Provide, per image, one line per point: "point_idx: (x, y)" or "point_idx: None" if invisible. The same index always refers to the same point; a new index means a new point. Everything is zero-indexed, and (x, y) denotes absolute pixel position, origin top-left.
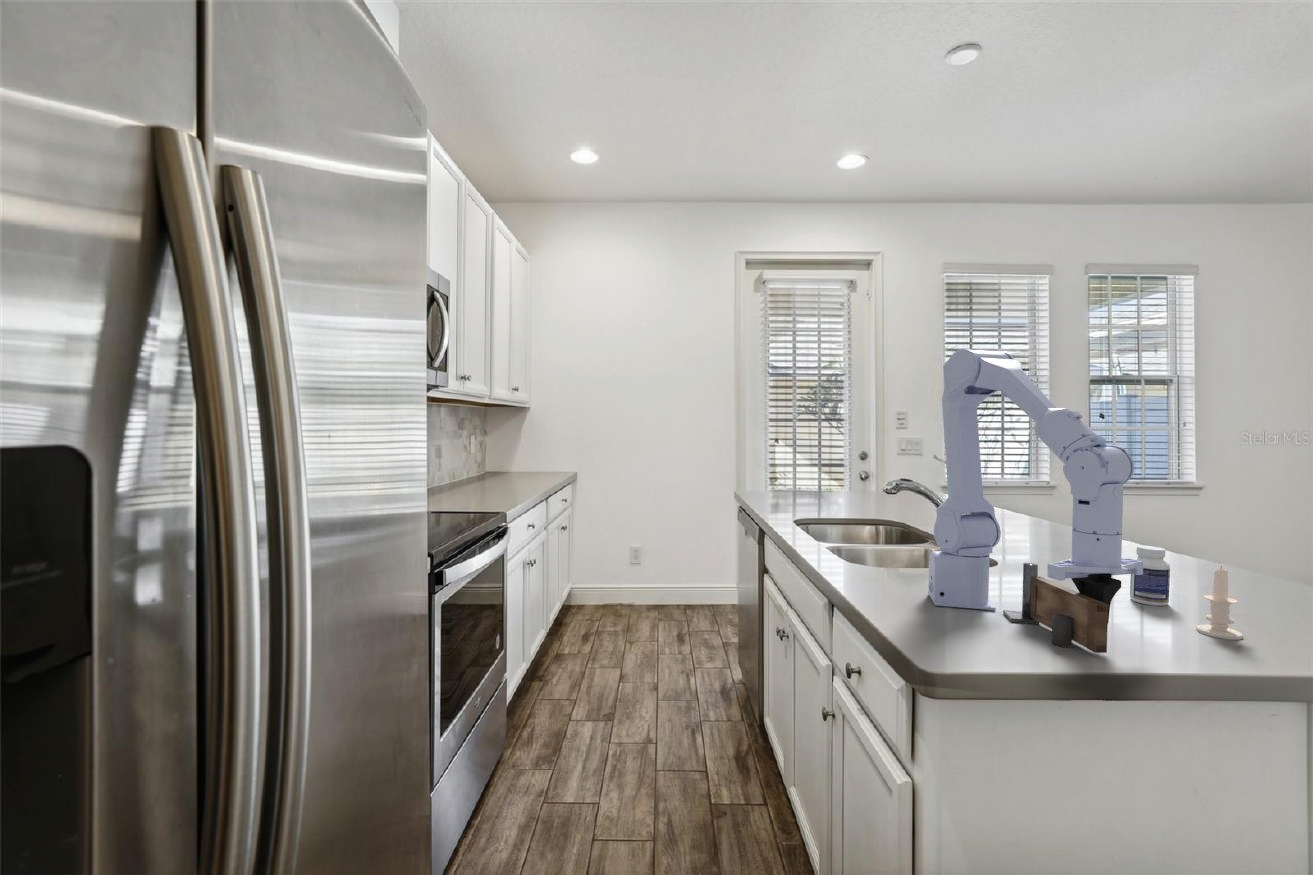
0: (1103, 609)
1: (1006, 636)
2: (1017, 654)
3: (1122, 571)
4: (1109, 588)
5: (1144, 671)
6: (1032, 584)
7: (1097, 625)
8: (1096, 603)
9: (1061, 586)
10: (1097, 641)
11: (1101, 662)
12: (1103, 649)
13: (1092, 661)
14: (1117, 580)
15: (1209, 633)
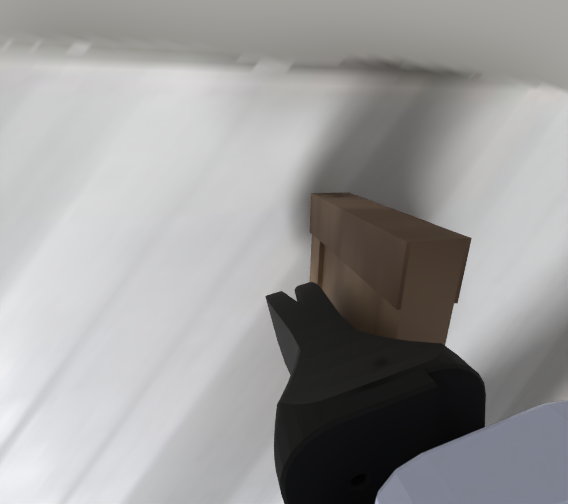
0: (415, 230)
1: (448, 334)
2: (515, 212)
3: (533, 462)
4: (393, 361)
5: (259, 81)
6: None
7: (392, 211)
8: (457, 255)
9: None
10: (357, 199)
11: (341, 160)
12: (326, 194)
13: (362, 168)
14: (315, 465)
15: None
